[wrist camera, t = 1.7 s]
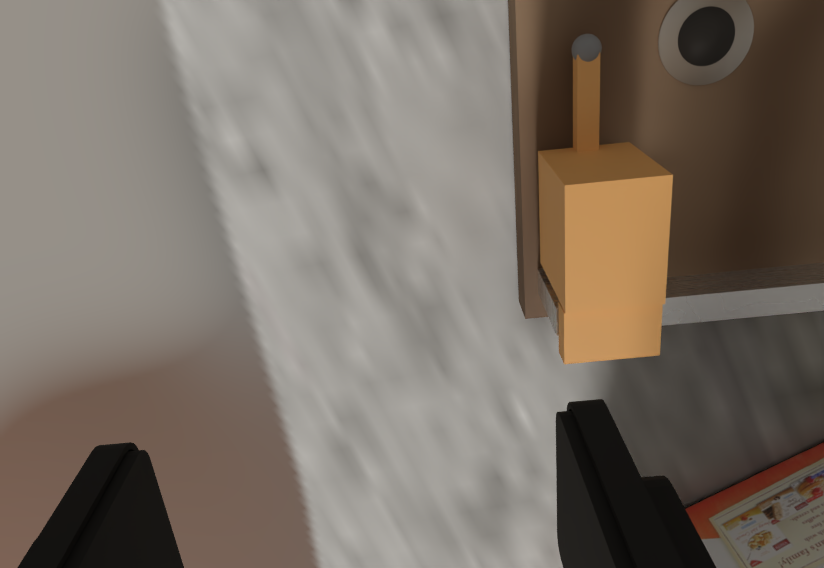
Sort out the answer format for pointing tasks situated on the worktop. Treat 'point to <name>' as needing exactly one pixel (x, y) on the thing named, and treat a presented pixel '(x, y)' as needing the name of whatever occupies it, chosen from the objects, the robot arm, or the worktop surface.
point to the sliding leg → (603, 232)
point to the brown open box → (685, 120)
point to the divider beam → (726, 294)
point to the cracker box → (768, 517)
